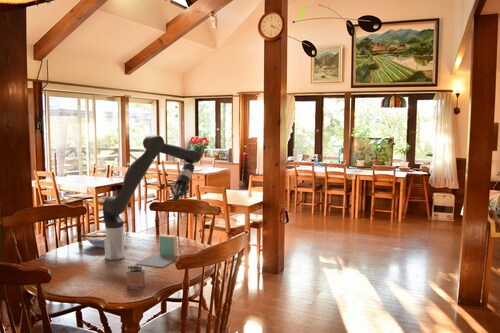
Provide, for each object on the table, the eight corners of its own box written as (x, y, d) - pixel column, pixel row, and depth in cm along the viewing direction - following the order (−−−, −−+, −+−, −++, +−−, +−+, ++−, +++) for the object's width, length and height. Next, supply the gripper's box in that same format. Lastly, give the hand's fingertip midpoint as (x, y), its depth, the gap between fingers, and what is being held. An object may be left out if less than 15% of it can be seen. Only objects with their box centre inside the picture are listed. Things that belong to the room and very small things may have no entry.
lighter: (145, 285, 181) (145, 264, 180) (144, 288, 177) (143, 266, 176) (127, 285, 180) (127, 264, 179) (125, 288, 177) (125, 266, 176)
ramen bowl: (134, 241, 249) (134, 228, 248) (118, 253, 226) (118, 238, 226) (95, 240, 252) (95, 227, 251) (76, 251, 229) (75, 237, 228)
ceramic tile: (173, 257, 220) (173, 237, 219) (159, 255, 223) (159, 235, 222) (177, 255, 223) (176, 235, 222) (162, 253, 226) (162, 234, 225)
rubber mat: (162, 268, 203) (162, 267, 203) (135, 264, 208) (135, 263, 208) (178, 258, 218) (178, 257, 218) (153, 255, 223) (153, 254, 223)
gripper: (172, 173, 247) (162, 196, 236) (191, 174, 242) (182, 198, 232) (177, 181, 252) (167, 204, 242) (196, 182, 248) (186, 205, 238)
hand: (174, 201), depth 237 cm, fingers closed
